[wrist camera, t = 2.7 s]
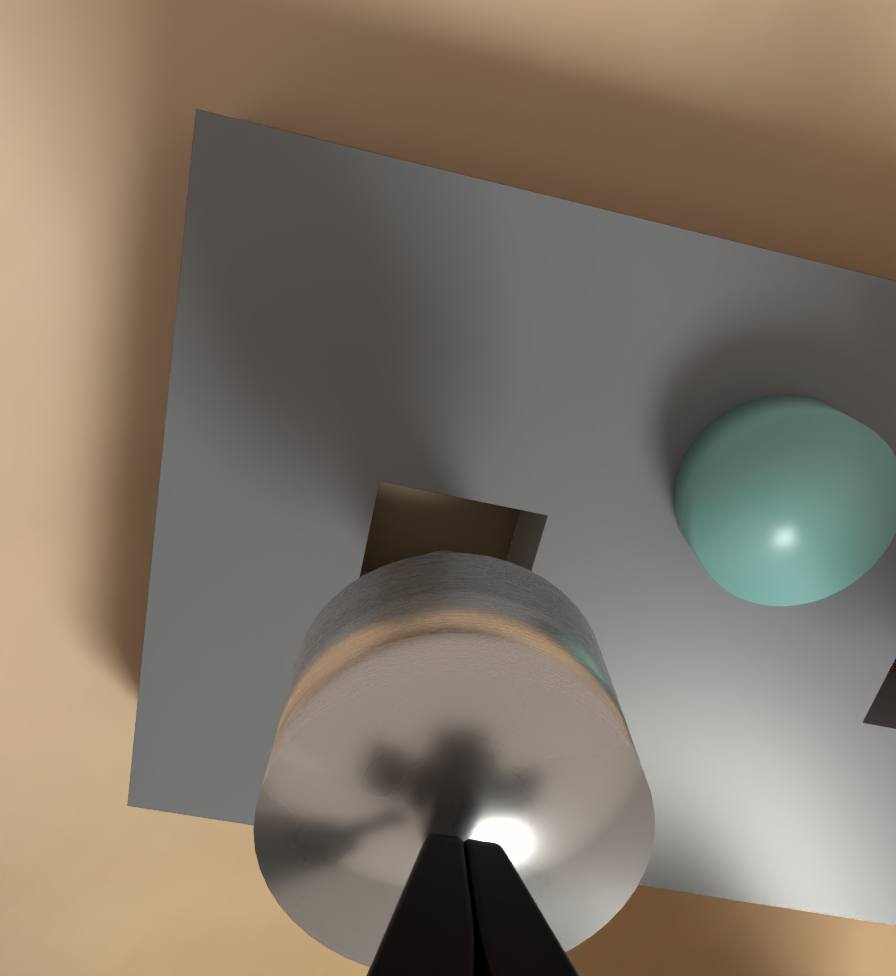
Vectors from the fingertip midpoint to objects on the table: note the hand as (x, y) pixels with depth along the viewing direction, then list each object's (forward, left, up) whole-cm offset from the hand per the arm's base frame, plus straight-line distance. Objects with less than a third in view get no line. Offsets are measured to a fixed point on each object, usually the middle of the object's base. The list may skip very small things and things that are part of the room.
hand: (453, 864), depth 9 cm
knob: (0, 0, -7) cm, 7 cm away
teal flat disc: (+6, +3, -7) cm, 9 cm away
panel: (+6, 0, -9) cm, 11 cm away
